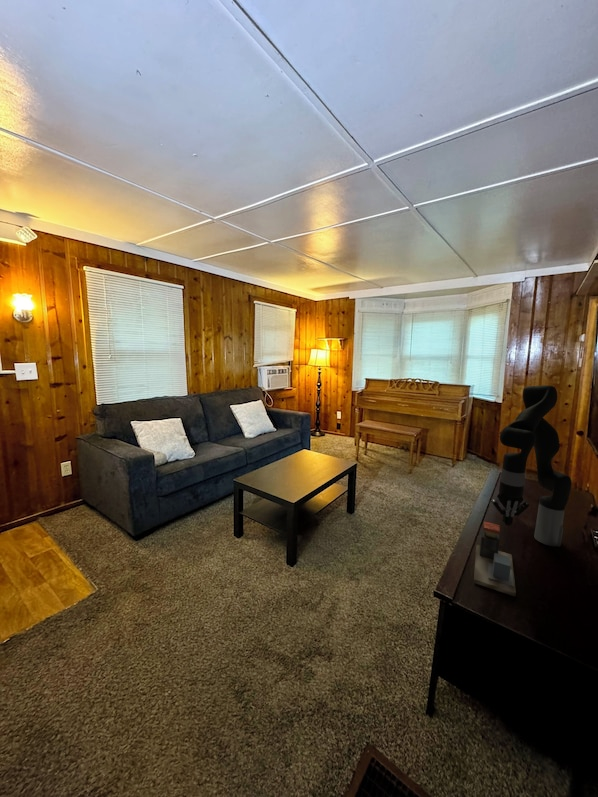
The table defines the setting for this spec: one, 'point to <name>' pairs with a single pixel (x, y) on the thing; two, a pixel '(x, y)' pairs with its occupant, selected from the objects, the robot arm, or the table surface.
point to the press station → (491, 566)
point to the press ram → (491, 530)
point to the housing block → (501, 566)
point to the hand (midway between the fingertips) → (506, 524)
